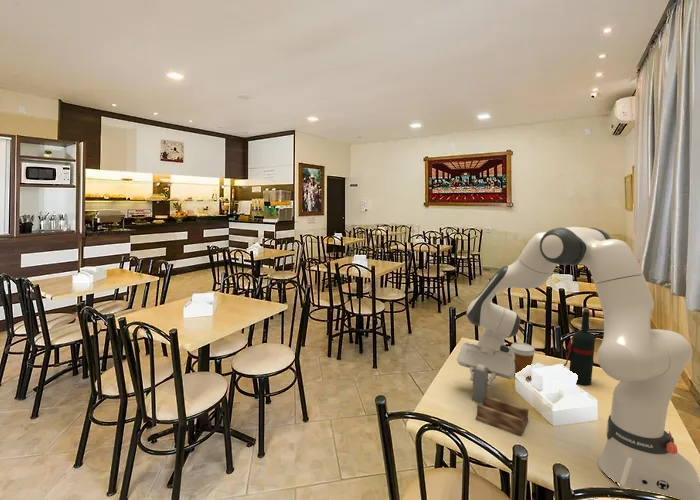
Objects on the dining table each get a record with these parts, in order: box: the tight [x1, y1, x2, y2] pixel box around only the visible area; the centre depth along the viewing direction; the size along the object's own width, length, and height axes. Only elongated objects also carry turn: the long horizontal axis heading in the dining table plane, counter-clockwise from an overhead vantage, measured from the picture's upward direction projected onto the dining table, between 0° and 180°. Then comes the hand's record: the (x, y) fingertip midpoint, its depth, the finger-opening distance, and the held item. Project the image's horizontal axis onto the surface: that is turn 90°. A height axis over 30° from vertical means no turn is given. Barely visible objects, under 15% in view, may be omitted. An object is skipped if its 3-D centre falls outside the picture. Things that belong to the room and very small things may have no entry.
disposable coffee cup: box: [509, 342, 536, 373], centre depth 153 cm, size 10×10×12 cm
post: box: [471, 364, 489, 405], centre depth 133 cm, size 4×4×13 cm
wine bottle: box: [563, 307, 596, 387], centre depth 146 cm, size 8×10×30 cm
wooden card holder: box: [474, 395, 529, 437], centre depth 122 cm, size 14×10×4 cm
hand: (479, 382), depth 133 cm, fingers closed on post, 4 cm apart
